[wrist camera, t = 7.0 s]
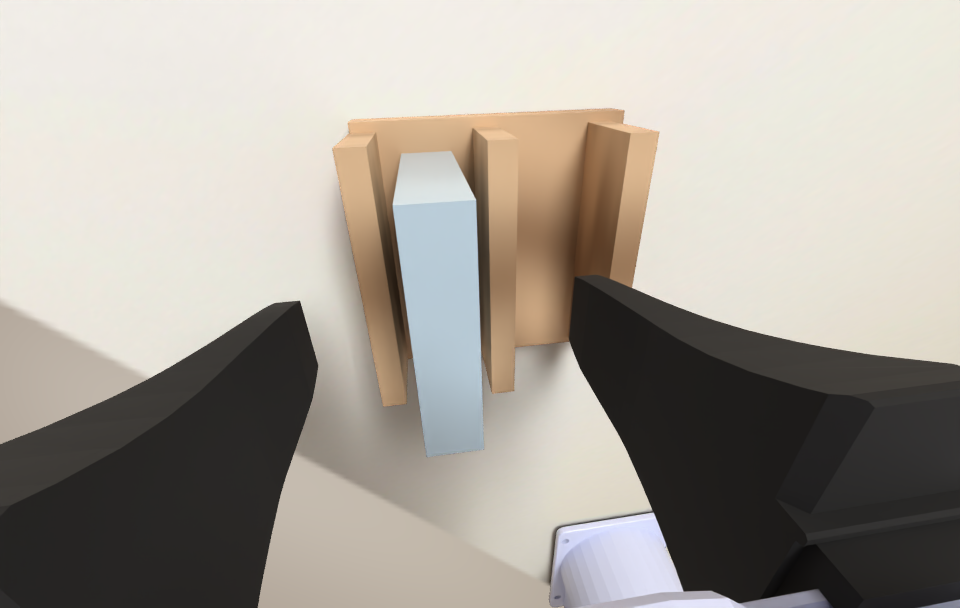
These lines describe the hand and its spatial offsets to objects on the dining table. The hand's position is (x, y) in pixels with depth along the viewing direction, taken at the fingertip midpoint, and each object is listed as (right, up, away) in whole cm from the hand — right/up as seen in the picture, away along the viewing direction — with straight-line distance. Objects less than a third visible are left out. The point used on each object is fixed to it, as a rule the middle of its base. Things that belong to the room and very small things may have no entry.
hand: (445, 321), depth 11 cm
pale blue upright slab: (-1, +2, +4) cm, 5 cm away
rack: (+1, +3, +5) cm, 6 cm away
